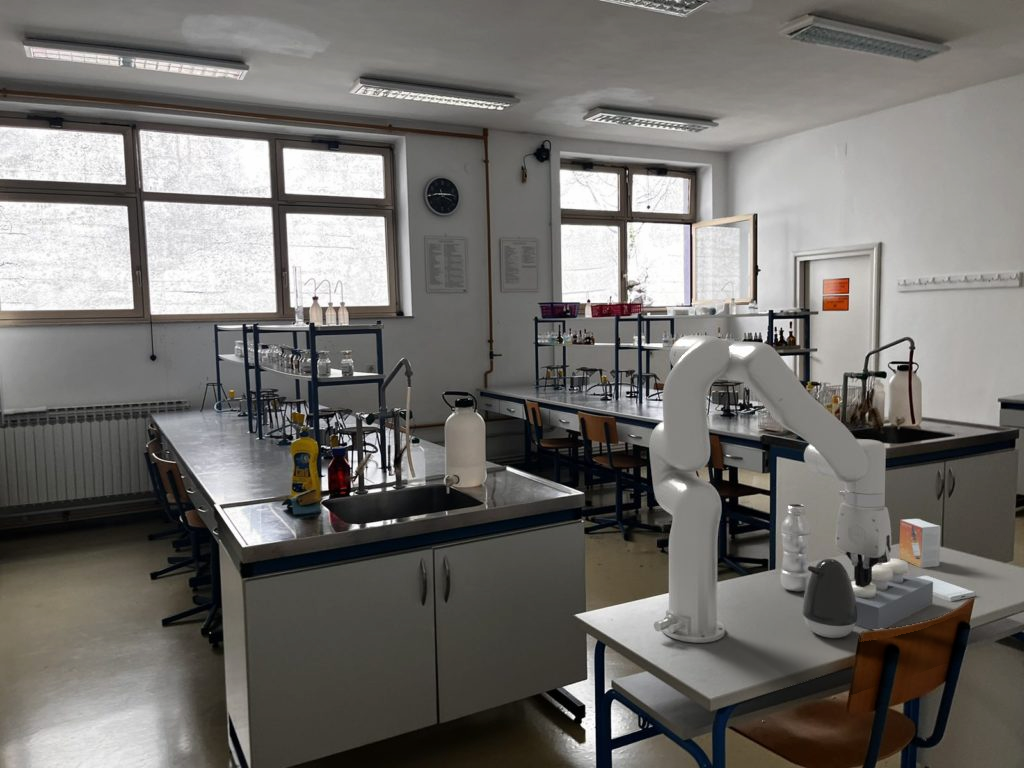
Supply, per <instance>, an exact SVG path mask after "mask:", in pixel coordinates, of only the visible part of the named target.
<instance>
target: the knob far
mask: <svg viewBox="0 0 1024 768" xmlns="http://www.w3.org/2000/svg"><path fill="white" fill-rule="evenodd" d="M881 565H883V566H887V567H890V568H891V569H892V570H893V577H892V580H888V581H889V582H893V583H897V584H902V583H903V574H904V575H905V574H908V573H909V562H907V561H905V560H902V559H900V558H893V557H892V558H891V557H890V562H887V563H881Z"/></svg>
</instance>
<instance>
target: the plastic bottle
mask: <svg viewBox="0 0 1024 768" xmlns="http://www.w3.org/2000/svg"><path fill="white" fill-rule="evenodd" d="M786 512H787V513H786V514H788V515H787V516H786V517H785V518H784V520H782V522H781V525H780V532H781V533H780V534H781V539H782V550H783V551H782V555H783V556H782V557H783V558H782V567H781V570H780V571H781V572H780V575H779V576H780V583H781V585H782V587H783V588H784V589H785V590H788V591H792V592H805V590H806V587H807V584H808V581H809V578H810V576H811V571H809V570H808V566H810V565H809V547H810V546H809V545H810V539H811V538H810V537H811V533H812V528H811V525H810V523H809V521H808V520H807V519H806V517H805V515H806V506H805V504H801V503H789V504H788V505H787V510H786Z"/></svg>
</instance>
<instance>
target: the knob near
mask: <svg viewBox="0 0 1024 768" xmlns="http://www.w3.org/2000/svg"><path fill="white" fill-rule="evenodd" d="M851 584H852V587H853V591H854V594H855V596H857V597H861V598H864V599H869V598H872V597H875V596H876V586H875V585H874V584H872V583H870V585H867V586H865V587H861V586H860V585H859V586H857V585H855V581H852V582H851Z"/></svg>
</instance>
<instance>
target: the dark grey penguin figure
mask: <svg viewBox="0 0 1024 768" xmlns="http://www.w3.org/2000/svg"><path fill="white" fill-rule="evenodd" d="M808 570H809V572H810V578H809V581H808V584H807V587H806V590H805V591H804V596H803V599H802V600H803V601H802V609H801V610H802V611H801V612H802V615H803V617H804V620H805V621H804V622H805V624H806V625H807V627H808V628H809V629H810V630H811V631H812V632H813V633H815V634H816V635H818V636H821V637H823V638H828V639H840V638H843V637H846V636H848V635H849V634H850V633H851V632H852V631H853V629H854V628H855V626H856V625H855V622H856V621H857V606H856V599H855V594H854V591H853V587H852V584H851V581H850V580H851V579H850V576H849V574H848V571H847V570H846V568H845V567H844V565H843V563H841V562H840V561H838V560H837V559H834V558H824V559H821V560H820V561H818V562H817V564H816V565H815V566H814V565H809V566H808Z"/></svg>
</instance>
